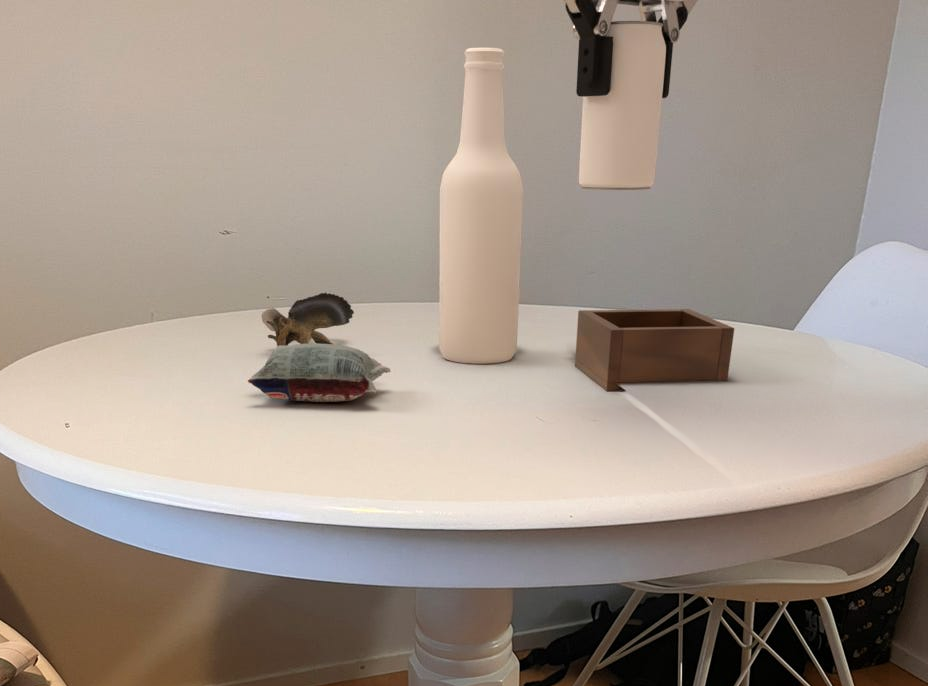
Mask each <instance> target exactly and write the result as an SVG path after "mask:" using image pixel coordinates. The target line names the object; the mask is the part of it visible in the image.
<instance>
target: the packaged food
mask: <svg viewBox="0 0 928 686" xmlns="http://www.w3.org/2000/svg"><path fill="white" fill-rule="evenodd" d="M334 344H335V343H333V344H318V343H307V344H300V343H298V344H288V345H284V346H278V347H277V346H276V347H275V349H274V350H273V351H272V353H271V354H270V356H269V357H268V359H267V360H266V362H265V364H264V365H263V366H262V367H261V368H260V369H259V370H258V371H257V372H255V373H254V374H253V375H252V376H251V377H250V378H249V379H248V380H247V382H248V384H251V385H252V386H253V387H255V388H257V389H258V390H260V391H261V392H262V393H263V394H265V395H266V396H268V397H269V398H271V399H275V400H281V401H292V402H294V401H295V402H307V403H308V402H310V403H334V402H335V403H336V402H351V401H354V400H357V399H358V398H359V397H361V396H363V395H364V394H365V393H366V392H367V391H370V392H373V393H375V394H377V393H378V390H377V389H376V386H375V384H374V381H375V380H377V379H378V378H380V377H382V376H383V374H388V373H391V369H390V367H387V366H384V365H382V363H380V362H378V360H376V359H375V358H372V357H370V356H369V355H368V353H366V352H365V351H363V350H360V349H358V348H355V347H351V346H347V345H343V344H335V345H334Z"/></svg>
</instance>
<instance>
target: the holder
mask: <svg viewBox="0 0 928 686" xmlns="http://www.w3.org/2000/svg"><path fill="white" fill-rule="evenodd" d="M734 335H735V327H733V326H730V325H728V324H726V323H723V322H721V321H718V320H716V319H713V318H711V317H709V316H707V315H704V314H701V313H699V312H697V311H695V310H692V309H689V308H680V309H678V308H673V309H672V308H669V309H668V308H666V309H661V308H660V309H659V308H657V309H596V310H595V309H593V310H592V309H591V310H588V309H587V310H585V309H584V310H580V309H579V310H578V311H577V327H576V340H575V341H576V342H575V356H574V357H575V358H574V366H575V368H578V370H580V371H581V372H582V373H583V374H585V375H586V376H587V377H589V378H590V379H591V380H592V381H594V383H596V384H597V385H599V386H600V387H601V388H602V389H604V390H605V391H606V392H614V391H615V392H619V391H622V392H623V391H626V389H624V387H622V386H621V385H619V384H655V383H656V384H657V383H659V384H661V383H662V384H663V383H698V382H699V383H702V382H707V383H708V382H728V378H729V372H730V371H729V370H730V365H731V356H732V350H733V342H734Z"/></svg>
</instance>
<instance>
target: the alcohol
mask: <svg viewBox="0 0 928 686" xmlns="http://www.w3.org/2000/svg"><path fill="white" fill-rule="evenodd" d="M463 55H464V56H465V63H464V64H463V69H464V70H465V73H464V75H465V76H464V84H463V85H464V87H463V98H462V99H463V100H462V112H461V113H462V114H461V124H460V135H459V144H458V146H457V150H456V153H455V155H454V156H453V158H451V160H450V161H449V163H448V164H447V166H446V168H445V169H444V171H443V172H442V173H443V174H442V177H441V181H440V187H439V277H438V279H439V282H438V283H439V284H438V285H439V287H438V288H439V295H438V297H439V299H438V300H439V302H438V303H439V304H438V310H439V312H438V316H439V319H438V321H439V323H438V325H439V326H438V327H439V329H438V335H439V336H438V348H439V351H440V352H441V355H442V356H443V358H444V359H445V360H448V361H449V362H450V361H451V362H455V363H460V364H471V365H472V364H474V365H485V364H486V365H487V364H488V365H489V364H499V363H505V362H509V361H510V360H512V359H513V357H514V356H515V354H516V352H517V350H518V335H519V333H518V329H519V308H520V306H519V304H520V282H521V259H522V258H521V254H522V233H523V232H522V228H523V206H524V205H523V204H524V203H523V202H524V201H523V200H524V186H523V180H522V176H521V172H520V171H519V168H518V167H517V165H516V163H515V162H514V161H513V159H512V158H511V157H510V155H509V151H508V147H507V145H506V132H505V105H504V104H505V103H504V80H503V78H504V77H503V75H504V74H503V70H504V69H505V64H504V63H503V62H504V61H503V60H504V56H505V51H504V50H503V49H502V48H499V47H469V48H466V49H465V51H464V53H463Z"/></svg>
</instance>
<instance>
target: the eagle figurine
mask: <svg viewBox="0 0 928 686" xmlns="http://www.w3.org/2000/svg"><path fill="white" fill-rule="evenodd" d="M354 313H355V311H354V310H353V309H352V305H351V304H350V303H349V302H348V300H346V299H345V298H344V297H343V296H339V295H338V294H335V293H330V292H329V293H328V292H321V293H319V294H315V295H313V296H308V297H307V298H303V299H297V300H295V301H294V303H293V304H292V306H291V307H290V309H289V310H288V313H287V314H288V315H287V316H285V315H283V314H282V313H280V311H278V310H277V309H276V308H274V307H272V308H268V309H266V310H264V311H263V312H261V315H260V317H261V320H262V323H263V324H264V325H265V326H266V328H268V329H269V330H270V331H272V332H274V333H275V335H273V334H268V335H267V338H268V339H272V340H274V341H275V342H276V348H277V347H278V346H284V345H290V344H291V343H293V342H297V343H298V344H307V343H318V344H334V345H336V344H335V343H333V342H332V341H330V339H329V338H328V337H327V336H326V335H325V334H323V333H322V332H321V331H318V329H328V328H331V327H332V328H333V327H341V326H345V325H348V324H349V323H350V319H352V318H353V315H354Z"/></svg>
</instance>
